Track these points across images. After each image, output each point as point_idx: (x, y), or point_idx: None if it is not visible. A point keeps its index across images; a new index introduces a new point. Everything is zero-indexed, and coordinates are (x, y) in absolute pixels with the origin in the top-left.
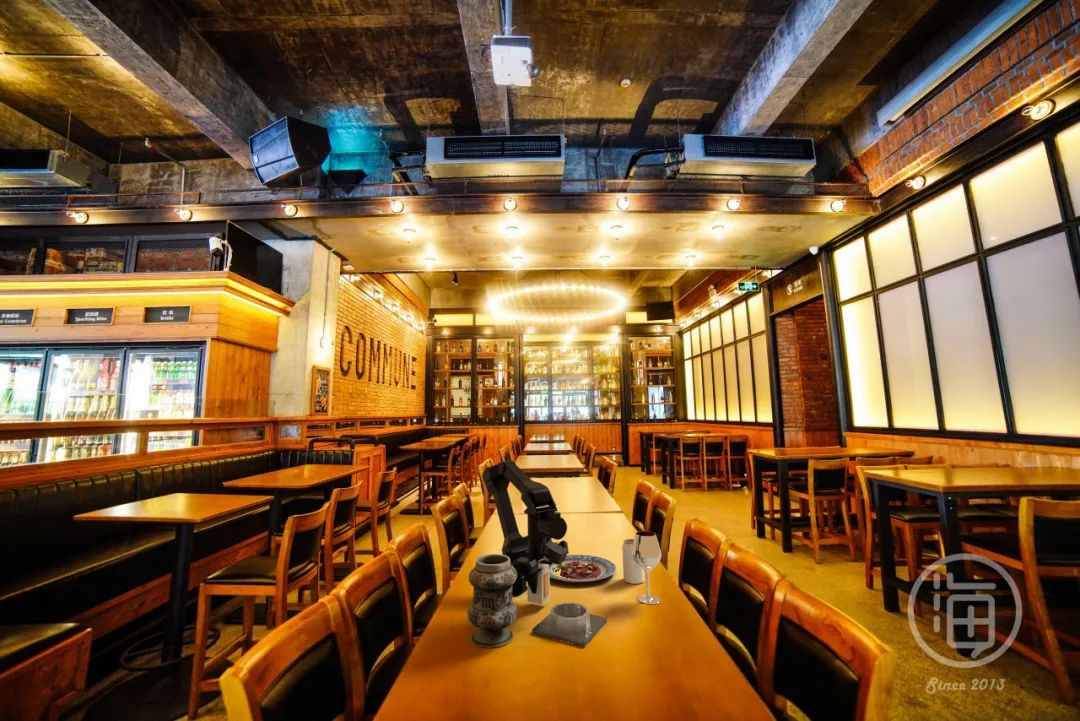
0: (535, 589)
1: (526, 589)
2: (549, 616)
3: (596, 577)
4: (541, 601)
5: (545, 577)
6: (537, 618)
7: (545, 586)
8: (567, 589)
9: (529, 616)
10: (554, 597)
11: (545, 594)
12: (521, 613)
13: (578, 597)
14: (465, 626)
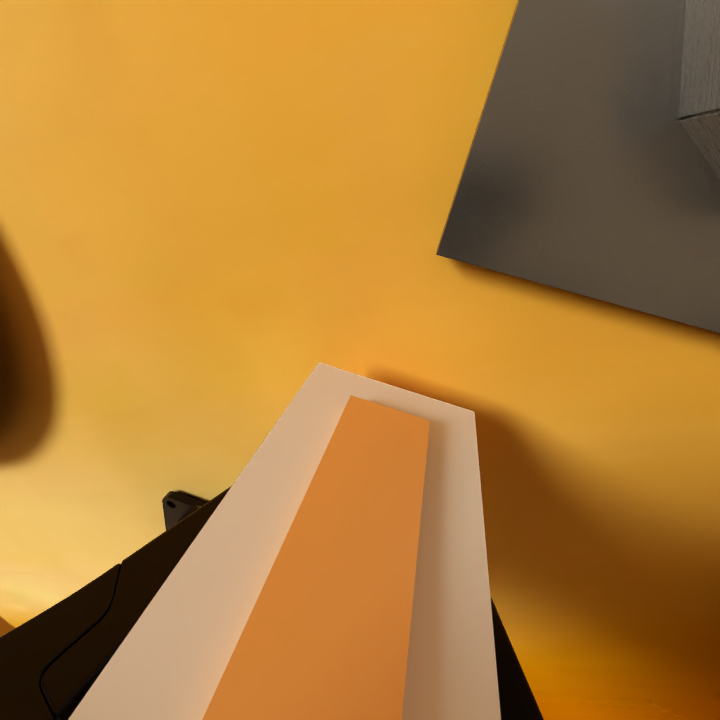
0: (490, 596)
1: (190, 500)
2: (715, 300)
3: None
4: (471, 435)
5: (384, 688)
6: (616, 398)
7: (413, 518)
8: (26, 252)
9: (572, 455)
10: (198, 327)
11: (423, 439)
12: (518, 502)
13: (91, 98)
14: (699, 709)
